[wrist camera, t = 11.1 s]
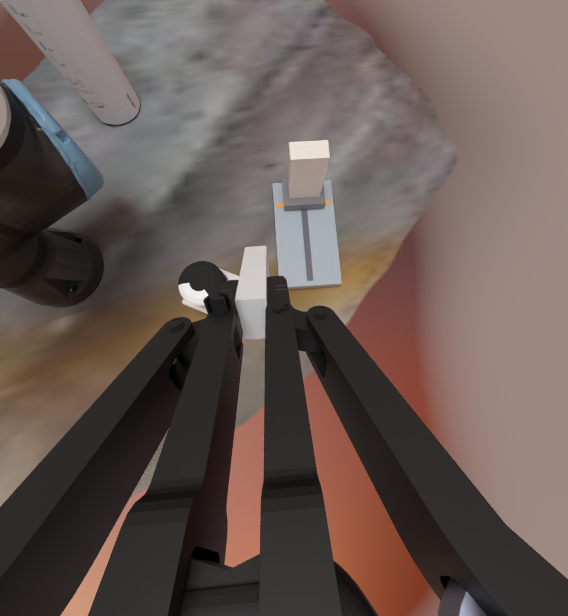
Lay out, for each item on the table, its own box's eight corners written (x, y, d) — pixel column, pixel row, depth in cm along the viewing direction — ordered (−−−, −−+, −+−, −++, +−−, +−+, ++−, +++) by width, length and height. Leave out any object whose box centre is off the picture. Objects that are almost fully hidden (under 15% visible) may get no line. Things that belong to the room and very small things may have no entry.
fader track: (279, 290, 42) (279, 287, 40) (273, 190, 45) (272, 183, 43) (338, 286, 42) (341, 283, 40) (328, 186, 45) (330, 179, 43)
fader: (284, 210, 42) (284, 169, 32) (282, 183, 43) (281, 134, 32) (324, 208, 42) (337, 165, 32) (321, 181, 43) (333, 131, 33)
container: (215, 274, 43) (186, 247, 30) (250, 288, 42) (235, 266, 29) (199, 309, 42) (161, 296, 29) (234, 323, 41) (212, 317, 28)
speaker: (150, 98, 48) (-4, -176, 22) (126, 134, 47) (-65, -113, 21) (110, 81, 49) (-83, -204, 23) (86, 116, 48) (-147, -144, 22)
